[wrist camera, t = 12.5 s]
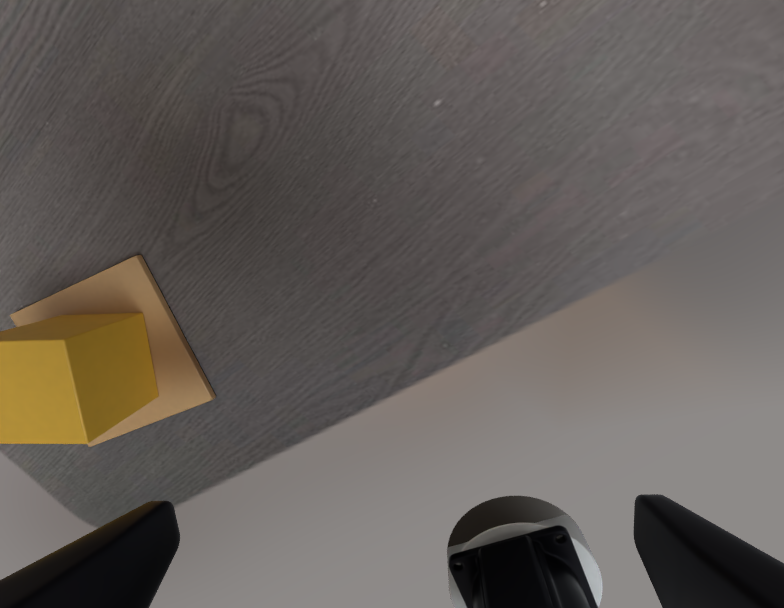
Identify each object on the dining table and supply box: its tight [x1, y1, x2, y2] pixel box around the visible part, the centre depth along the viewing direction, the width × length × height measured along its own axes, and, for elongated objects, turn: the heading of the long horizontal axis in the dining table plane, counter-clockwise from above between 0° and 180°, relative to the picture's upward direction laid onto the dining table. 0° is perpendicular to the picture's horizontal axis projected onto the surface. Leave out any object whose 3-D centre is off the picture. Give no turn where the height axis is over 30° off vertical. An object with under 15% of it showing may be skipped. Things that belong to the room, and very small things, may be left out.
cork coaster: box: [10, 255, 216, 447], centre depth 21 cm, size 8×8×1 cm
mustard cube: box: [0, 313, 159, 444], centre depth 18 cm, size 4×4×4 cm
